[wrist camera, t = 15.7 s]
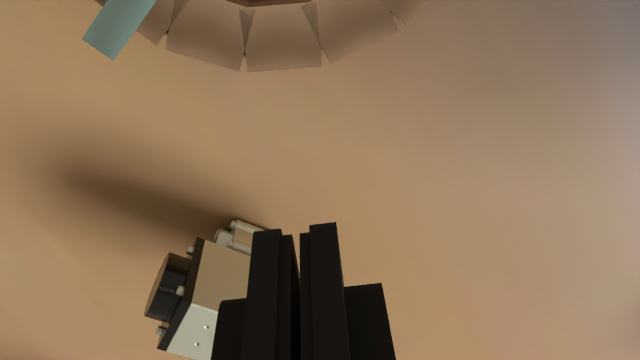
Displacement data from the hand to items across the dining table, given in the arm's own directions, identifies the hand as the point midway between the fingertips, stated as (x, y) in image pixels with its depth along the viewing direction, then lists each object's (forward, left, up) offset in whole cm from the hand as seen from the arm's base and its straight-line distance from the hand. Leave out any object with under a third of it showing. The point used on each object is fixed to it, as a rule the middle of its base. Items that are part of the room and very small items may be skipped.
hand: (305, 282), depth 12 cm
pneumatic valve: (+7, +20, -27) cm, 35 cm away
